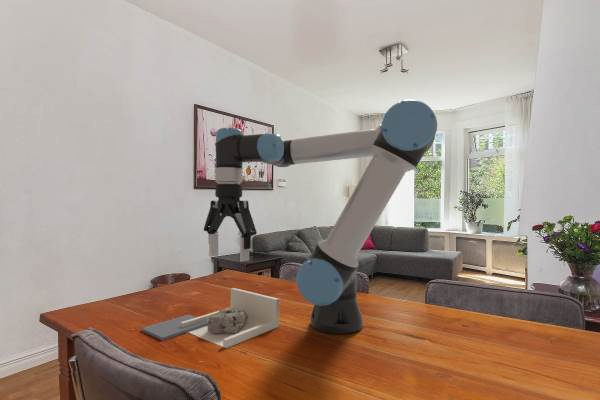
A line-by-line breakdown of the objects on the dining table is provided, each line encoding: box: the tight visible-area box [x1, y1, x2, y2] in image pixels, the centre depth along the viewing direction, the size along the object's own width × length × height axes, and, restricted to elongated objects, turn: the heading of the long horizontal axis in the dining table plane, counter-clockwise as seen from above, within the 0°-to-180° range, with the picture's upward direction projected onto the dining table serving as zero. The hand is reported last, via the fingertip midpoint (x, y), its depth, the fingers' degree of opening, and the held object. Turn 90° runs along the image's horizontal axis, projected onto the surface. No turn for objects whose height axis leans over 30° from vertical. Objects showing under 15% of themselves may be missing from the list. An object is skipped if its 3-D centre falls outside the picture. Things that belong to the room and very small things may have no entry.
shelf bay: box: [181, 287, 280, 349], centre depth 99 cm, size 20×19×8 cm
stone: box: [207, 308, 249, 334], centre depth 99 cm, size 13×6×10 cm
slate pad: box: [141, 314, 208, 341], centre depth 99 cm, size 11×15×1 cm
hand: (228, 258), depth 99 cm, fingers open, 13 cm apart
